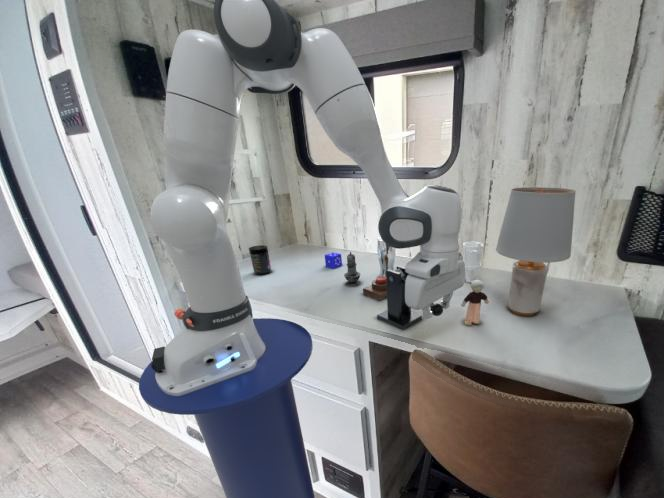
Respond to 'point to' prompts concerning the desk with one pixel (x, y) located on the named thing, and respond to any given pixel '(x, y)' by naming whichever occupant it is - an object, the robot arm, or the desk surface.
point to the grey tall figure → (352, 271)
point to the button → (381, 280)
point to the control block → (376, 290)
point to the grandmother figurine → (474, 302)
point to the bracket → (397, 302)
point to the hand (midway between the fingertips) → (436, 312)
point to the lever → (435, 308)
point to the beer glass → (385, 256)
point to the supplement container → (260, 260)
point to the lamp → (535, 241)
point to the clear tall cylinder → (472, 259)
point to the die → (333, 260)
